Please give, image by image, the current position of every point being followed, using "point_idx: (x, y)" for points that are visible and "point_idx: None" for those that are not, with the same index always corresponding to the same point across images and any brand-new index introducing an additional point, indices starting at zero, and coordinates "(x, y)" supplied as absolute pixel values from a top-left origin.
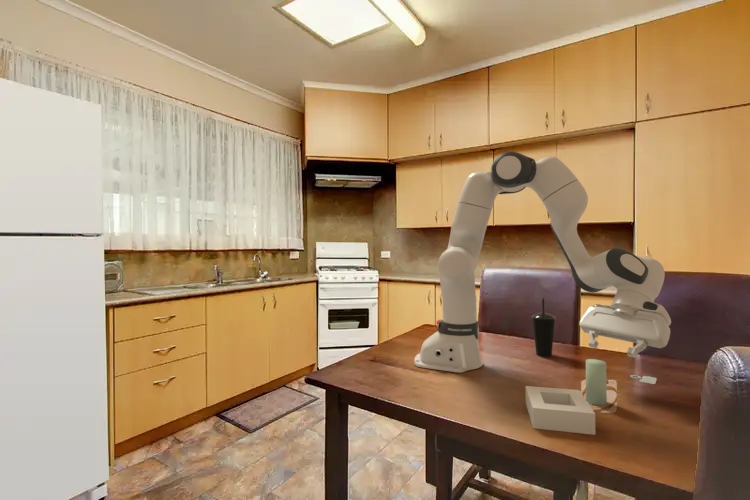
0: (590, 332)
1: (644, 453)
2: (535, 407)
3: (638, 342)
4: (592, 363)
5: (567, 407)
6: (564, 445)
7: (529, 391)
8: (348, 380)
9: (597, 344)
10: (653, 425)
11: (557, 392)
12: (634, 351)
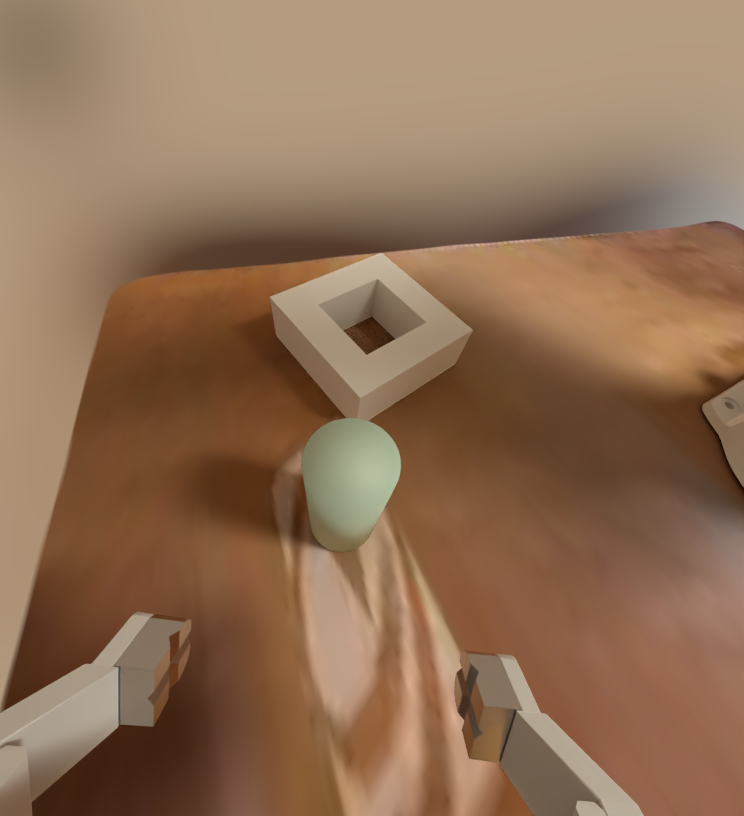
0: (623, 812)
1: (178, 331)
2: (378, 256)
3: (5, 745)
4: (353, 426)
5: (330, 288)
6: (307, 277)
7: (441, 308)
8: (700, 244)
9: (466, 726)
10: (161, 474)
11: (393, 344)
12: (115, 636)
